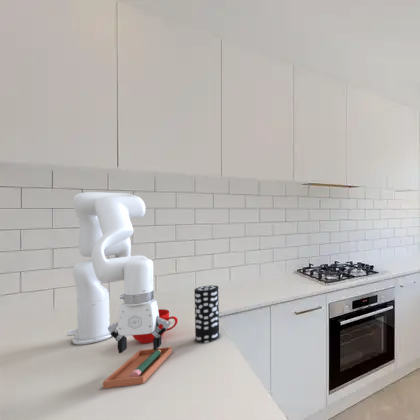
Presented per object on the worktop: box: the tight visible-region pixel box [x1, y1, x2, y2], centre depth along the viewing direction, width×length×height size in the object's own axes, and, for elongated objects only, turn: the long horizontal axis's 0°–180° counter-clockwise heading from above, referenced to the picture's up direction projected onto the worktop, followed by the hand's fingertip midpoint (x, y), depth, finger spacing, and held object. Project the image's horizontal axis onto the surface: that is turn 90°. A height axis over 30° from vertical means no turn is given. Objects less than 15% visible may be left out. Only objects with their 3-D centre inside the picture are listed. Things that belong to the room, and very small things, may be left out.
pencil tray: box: [102, 346, 173, 389], centre depth 100 cm, size 10×20×2 cm, turn 13°
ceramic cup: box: [131, 308, 179, 344], centre depth 122 cm, size 13×17×10 cm
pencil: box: [130, 350, 161, 378], centre depth 100 cm, size 16×2×2 cm
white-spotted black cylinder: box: [194, 285, 220, 344], centre depth 122 cm, size 8×8×20 cm
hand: (140, 349), depth 100 cm, fingers open, 9 cm apart
